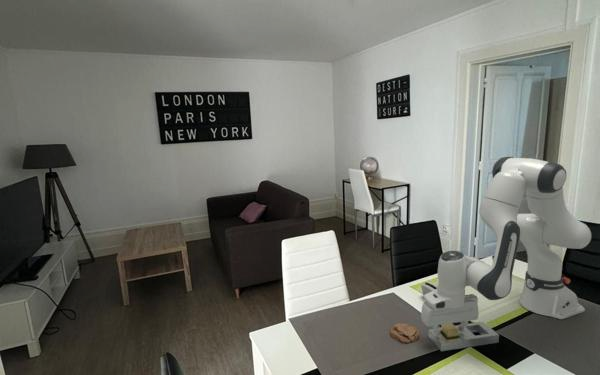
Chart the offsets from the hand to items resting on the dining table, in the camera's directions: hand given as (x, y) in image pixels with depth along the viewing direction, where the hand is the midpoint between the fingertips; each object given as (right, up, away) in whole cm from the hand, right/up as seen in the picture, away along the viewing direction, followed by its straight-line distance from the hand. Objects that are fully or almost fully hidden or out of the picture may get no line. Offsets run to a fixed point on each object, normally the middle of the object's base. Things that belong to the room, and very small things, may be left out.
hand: (449, 332), depth 113 cm
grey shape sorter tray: (+6, -3, +1) cm, 7 cm away
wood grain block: (0, -4, +1) cm, 4 cm away
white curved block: (+7, +1, +25) cm, 25 cm away
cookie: (-14, -4, +6) cm, 16 cm away
